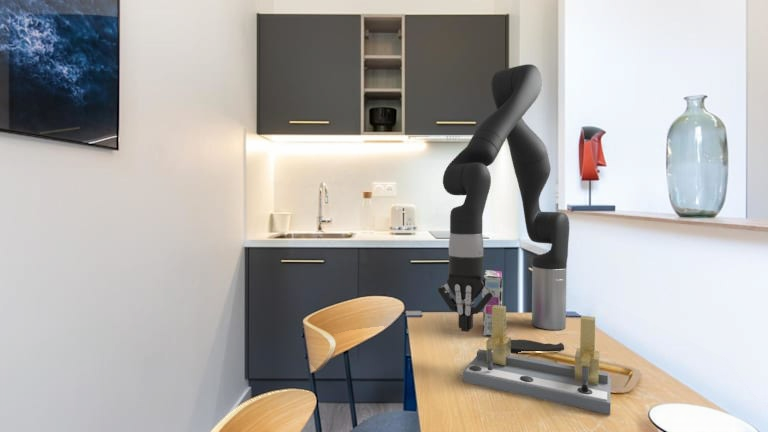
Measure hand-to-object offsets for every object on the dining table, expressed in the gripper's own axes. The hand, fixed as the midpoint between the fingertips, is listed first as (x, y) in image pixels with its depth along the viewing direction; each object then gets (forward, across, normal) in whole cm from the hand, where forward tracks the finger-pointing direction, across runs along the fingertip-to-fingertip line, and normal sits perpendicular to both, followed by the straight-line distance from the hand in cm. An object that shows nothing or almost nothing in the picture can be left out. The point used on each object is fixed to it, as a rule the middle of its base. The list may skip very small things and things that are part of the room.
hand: (465, 330), depth 91 cm
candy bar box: (+8, +1, -26) cm, 27 cm away
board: (+7, -15, +3) cm, 17 cm away
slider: (+5, -7, +3) cm, 9 cm away
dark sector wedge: (+8, -11, -17) cm, 22 cm away
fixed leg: (+5, -24, +2) cm, 25 cm away
